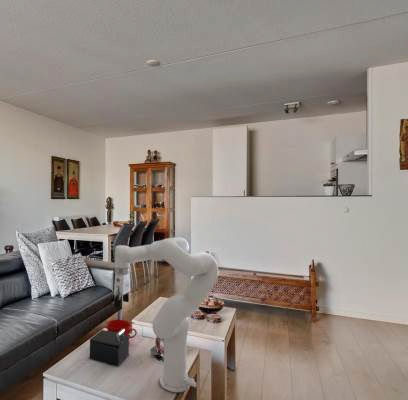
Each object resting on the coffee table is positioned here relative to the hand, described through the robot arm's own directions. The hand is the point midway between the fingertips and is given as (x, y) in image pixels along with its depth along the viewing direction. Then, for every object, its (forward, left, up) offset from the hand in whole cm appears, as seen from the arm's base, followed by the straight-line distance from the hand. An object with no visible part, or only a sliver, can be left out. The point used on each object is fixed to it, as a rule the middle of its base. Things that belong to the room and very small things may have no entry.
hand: (121, 304), depth 156 cm
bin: (+5, +3, -26) cm, 27 cm away
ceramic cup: (+6, -14, -26) cm, 31 cm away
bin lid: (+5, +3, -17) cm, 18 cm away
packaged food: (-18, -12, -26) cm, 34 cm away
